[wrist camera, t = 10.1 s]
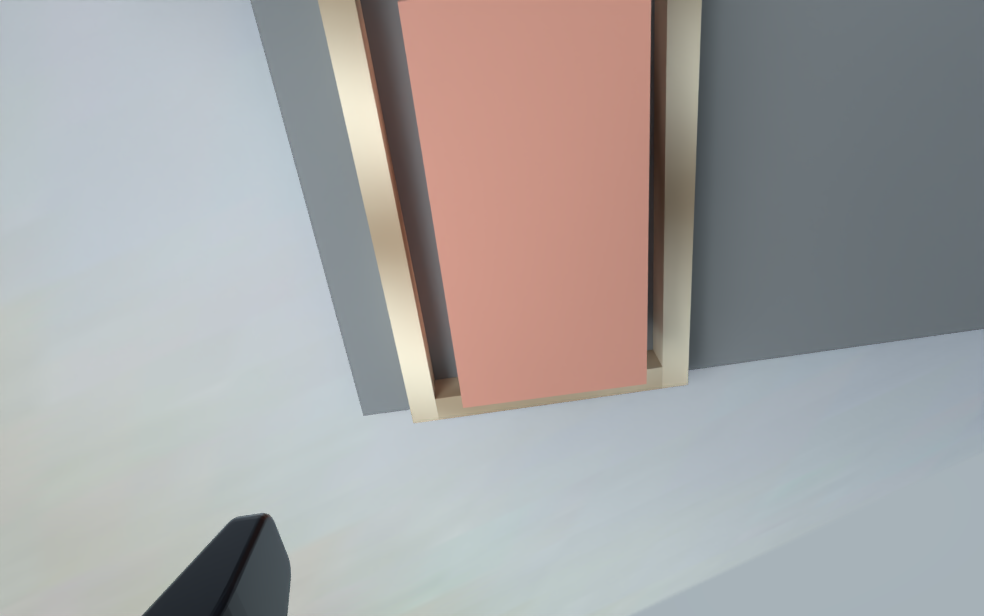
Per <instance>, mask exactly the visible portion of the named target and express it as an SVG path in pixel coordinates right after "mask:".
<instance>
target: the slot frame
mask: <svg viewBox="0 0 984 616" xmlns="http://www.w3.org/2000/svg"><path fill="white" fill-rule="evenodd" d="M318 4H319V8H320V13H321V17H322V21H323V26H324V30H325V35H326V39H327V43H328V48H329V52H330V57H331V61H332V66H333V70H334V74H335V79H336V83H337V88H338V92H339V97H340V101H341V105H342V110H343V114H344V119H345V123H346V127H347V132H348V136H349V141H350V145H351V150H352V154H353V158H354V163H355V167H356V172H357V176H358V180H359V185H360V189H361V194H362V198H363V203H364V207H365V211H366V216H367V220H368V225H369V229H370V234H371V238H372V242H373V247H374V251H375V256H376V260H377V264H378V269H379V273H380V278H381V282H382V287H383V291H384V295H385V300H386V304H387V309H388V313H389V318H390V322H391V326H392V331H393V335H394V340H395V344H396V348H397V353H398V357H399V362H400V366H401V371H402V375H403V379H404V384H405V388H406V393H407V397H408V402H409V406H410V410H411V415H412V419H413V423H419V422H426V421H433V420H441V419H448V418H455V417H462V416H469V415H476V414H483V413H490V412H498V411H505V410H512V409H519V408H526V407H533V406H540V405H547V404H554V403H562V402H569V401H576V400H583V399H590V398H597V397H604V396H611V395H618V394H626V393H633V392H640V391H647V390H654V389H661V388H668V387H675V386H682V385H688V365H689V338H690V310H691V283H692V255H693V228H694V201H695V173H696V146H697V118H698V91H699V64H700V36H701V9H702V0H655V22H654V262H653V350H647V384H643V385H635V386H627V387H620V388H612V389H605V390H597V391H589V392H582V393H574V394H566V395H559V396H551V397H544V398H536V399H528V400H521V401H513V402H506V403H498V404H490V405H483V406H475V407H467V408H463V405H462V398H461V392H460V386H459V380H458V377H453V378H446V379H439V380H435V378H434V373H433V368H432V362H431V357H430V352H429V347H428V342H427V337H426V332H425V327H424V322H423V317H422V312H421V307H420V302H419V297H418V291H417V286H416V281H415V276H414V271H413V266H412V261H411V256H410V251H409V246H408V241H407V236H406V231H405V226H404V221H403V215H402V210H401V205H400V200H399V195H398V190H397V185H396V180H395V175H394V170H393V165H392V160H391V155H390V150H389V144H388V139H387V134H386V129H385V124H384V119H383V114H382V109H381V104H380V99H379V94H378V89H377V84H376V79H375V74H374V68H373V63H372V58H371V53H370V48H369V43H368V38H367V33H366V28H365V23H364V18H363V13H362V8H361V3H360V0H318Z"/></svg>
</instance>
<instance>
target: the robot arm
mask: <svg viewBox="0 0 984 616" xmlns="http://www.w3.org/2000/svg"><path fill="white" fill-rule="evenodd" d="M290 581H291V568H290V562H289V558H288V555H287V552H286V550H285V547H284V545H283V542H282V540H281V537H280V535H279V532H278V530H277V527H276V525H275V522H274V520H273V518H272V517H271V516H270V515H269V514H266V513H260V514H253V515H246V516H239V517H236V518H234V519H232V520H231V521H230V522H229V523H228V524H227V525H226V526H225V527H224V528H223V529H222V530H221V531H220V532H219V533H218V534H217V536H216V537H215V538H214V539H213V540H212V541H211V542H210V543H209V544H208V545H207V546H206V547H205V548H204V549H203V551H202V552H201V553H200V554H199V555H198V556H197V557H196V558H195V559H194V560H193V561H192V562H191V563H190V565H189V566H188V567H187V568H186V569H185V570H184V571H183V572H182V573H181V574H180V575H179V576H178V577H177V578H176V580H175V581H174V582H173V583H172V584H171V585H170V586H169V587H168V588H167V589H166V590H165V591H164V592H163V593H162V595H161V596H160V597H159V598H158V599H157V600H156V601H155V602H154V603H153V604H152V605H151V606H150V607H149V609H148V610H147V611H146V612H145V613H144V614H143V615H142V616H287V613H288V602H289V592H290Z"/></svg>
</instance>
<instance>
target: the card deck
mask: <svg viewBox="0 0 984 616" xmlns="http://www.w3.org/2000/svg"><path fill="white" fill-rule="evenodd" d="M398 8H399V14H400V20H401V26H402V33H403V39H404V45H405V51H406V57H407V64H408V70H409V76H410V82H411V88H412V95H413V101H414V107H415V113H416V119H417V126H418V132H419V138H420V144H421V150H422V157H423V163H424V169H425V175H426V181H427V188H428V194H429V200H430V206H431V212H432V219H433V225H434V231H435V237H436V243H437V250H438V256H439V262H440V268H441V274H442V281H443V287H444V293H445V299H446V305H447V312H448V318H449V324H450V330H451V336H452V343H453V349H454V355H455V361H456V367H457V374H458V380H459V386H460V392H461V398H462V405H463V408H467V407H475V406H483V405H490V404H498V403H506V402H513V401H521V400H528V399H536V398H544V397H551V396H559V395H566V394H574V393H582V392H589V391H597V390H605V389H612V388H620V387H627V386H635V385H643V384H647V306H648V224H649V141H650V58H651V0H398Z"/></svg>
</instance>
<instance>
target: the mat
mask: <svg viewBox="0 0 984 616" xmlns="http://www.w3.org/2000/svg"><path fill="white" fill-rule="evenodd" d="M250 1H251V4H252V8H253V12H254V15H255V19H256V23H257V26H258V30H259V34H260V37H261V41H262V45H263V48H264V52H265V56H266V59H267V63H268V67H269V70H270V74H271V78H272V81H273V85H274V89H275V92H276V96H277V100H278V103H279V107H280V111H281V114H282V118H283V122H284V125H285V129H286V133H287V136H288V140H289V144H290V147H291V151H292V155H293V158H294V162H295V166H296V169H297V173H298V177H299V180H300V184H301V188H302V192H303V195H304V199H305V203H306V206H307V210H308V214H309V217H310V221H311V225H312V228H313V232H314V236H315V239H316V243H317V247H318V250H319V254H320V258H321V261H322V265H323V269H324V272H325V276H326V280H327V283H328V287H329V291H330V294H331V298H332V302H333V305H334V309H335V313H336V316H337V320H338V324H339V327H340V331H341V335H342V338H343V342H344V346H345V349H346V353H347V357H348V360H349V364H350V368H351V371H352V375H353V379H354V383H355V386H356V390H357V394H358V397H359V401H360V405H361V408H362V412H363V416H365V415H373V414H380V413H387V412H394V411H401V410H408V409H410V406H409V402H408V397H407V393H406V388H405V384H404V379H403V375H402V371H401V366H400V362H399V357H398V353H397V348H396V344H395V340H394V335H393V331H392V326H391V322H390V318H389V313H388V309H387V304H386V300H385V295H384V291H383V287H382V282H381V278H380V273H379V269H378V264H377V260H376V256H375V251H374V247H373V242H372V238H371V234H370V229H369V225H368V220H367V216H366V211H365V207H364V203H363V198H362V194H361V189H360V185H359V180H358V176H357V172H356V167H355V163H354V158H353V154H352V150H351V145H350V141H349V136H348V132H347V127H346V123H345V119H344V114H343V110H342V105H341V101H340V97H339V92H338V88H337V83H336V79H335V74H334V70H333V66H332V61H331V57H330V52H329V48H328V43H327V39H326V35H325V30H324V26H323V21H322V17H321V13H320V8H319V4H318V0H250ZM360 3H361V8H362V13H363V18H364V23H365V28H366V33H367V38H368V43H369V48H370V53H371V58H372V63H373V68H374V74H375V79H376V84H377V89H378V94H379V99H380V104H381V109H382V114H383V119H384V124H385V129H386V134H387V139H388V144H389V150H390V155H391V160H392V165H393V170H394V175H395V180H396V185H397V190H398V195H399V200H400V205H401V210H402V215H403V221H404V226H405V231H406V236H407V241H408V246H409V251H410V256H411V261H412V266H413V271H414V276H415V281H416V286H417V291H418V297H419V302H420V307H421V312H422V317H423V322H424V327H425V332H426V337H427V342H428V347H429V352H430V357H431V362H432V368H433V373H434V378H435V380H439V379H446V378H453V377H458V374H457V367H456V361H455V355H454V349H453V343H452V336H451V330H450V324H449V318H448V312H447V305H446V299H445V293H444V287H443V281H442V274H441V268H440V262H439V256H438V250H437V243H436V237H435V231H434V225H433V219H432V212H431V206H430V200H429V194H428V188H427V181H426V175H425V169H424V163H423V157H422V150H421V144H420V138H419V132H418V126H417V119H416V113H415V107H414V101H413V95H412V88H411V82H410V76H409V70H408V64H407V57H406V51H405V45H404V39H403V33H402V26H401V20H400V14H399V8H398V0H360ZM654 22H655V0H651V58H650V141H649V224H648V306H647V350H653V262H654ZM978 329H984V0H702V9H701V36H700V64H699V91H698V118H697V146H696V173H695V201H694V228H693V255H692V283H691V310H690V338H689V365H688V370H693V369H700V368H707V367H714V366H721V365H729V364H736V363H743V362H750V361H757V360H764V359H771V358H778V357H786V356H793V355H800V354H807V353H814V352H821V351H828V350H835V349H843V348H850V347H857V346H864V345H871V344H878V343H885V342H892V341H900V340H907V339H914V338H921V337H928V336H935V335H942V334H949V333H957V332H964V331H971V330H978Z"/></svg>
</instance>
